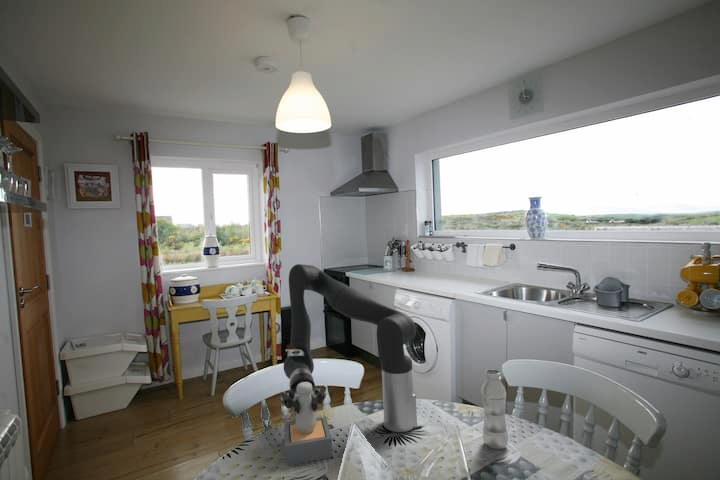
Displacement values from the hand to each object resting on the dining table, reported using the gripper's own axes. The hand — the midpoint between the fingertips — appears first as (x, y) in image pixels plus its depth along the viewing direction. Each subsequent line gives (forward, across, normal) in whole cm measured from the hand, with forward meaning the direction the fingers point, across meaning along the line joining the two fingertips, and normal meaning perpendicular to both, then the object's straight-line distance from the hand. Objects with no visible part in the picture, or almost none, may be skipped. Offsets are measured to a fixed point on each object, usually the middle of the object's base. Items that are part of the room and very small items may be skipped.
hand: (306, 408), depth 99 cm
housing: (-3, 0, +12) cm, 13 cm away
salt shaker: (-3, 0, +8) cm, 8 cm away
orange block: (-3, 0, +11) cm, 11 cm away
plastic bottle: (+11, +49, +12) cm, 52 cm away
